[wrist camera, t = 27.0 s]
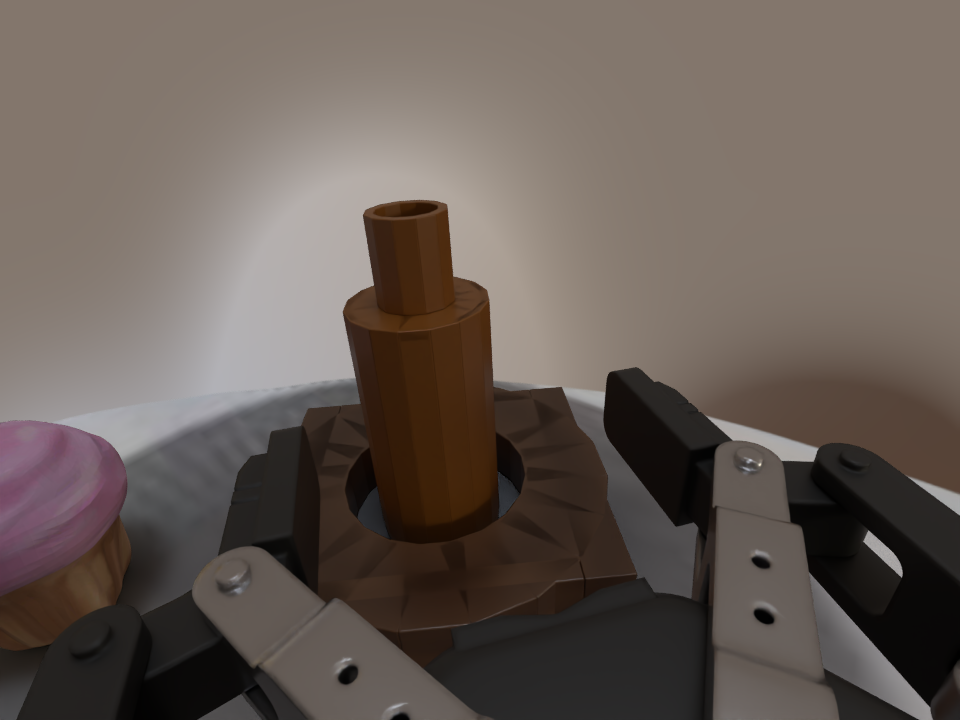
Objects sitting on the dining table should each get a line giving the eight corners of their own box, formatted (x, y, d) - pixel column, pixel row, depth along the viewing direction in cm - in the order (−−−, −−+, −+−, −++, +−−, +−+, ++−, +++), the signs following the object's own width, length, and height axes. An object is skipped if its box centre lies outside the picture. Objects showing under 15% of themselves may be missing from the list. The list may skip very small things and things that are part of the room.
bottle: (380, 564, 26) (309, 235, 18) (390, 479, 32) (340, 198, 24) (504, 553, 27) (490, 222, 18) (493, 470, 32) (478, 188, 24)
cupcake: (156, 656, 23) (52, 484, 18) (-92, 742, 20) (-290, 568, 15) (181, 517, 30) (112, 369, 25) (2, 567, 27) (-112, 413, 23)
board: (220, 696, 21) (197, 652, 20) (313, 431, 37) (304, 396, 35) (655, 651, 22) (664, 605, 20) (563, 409, 37) (564, 374, 36)
